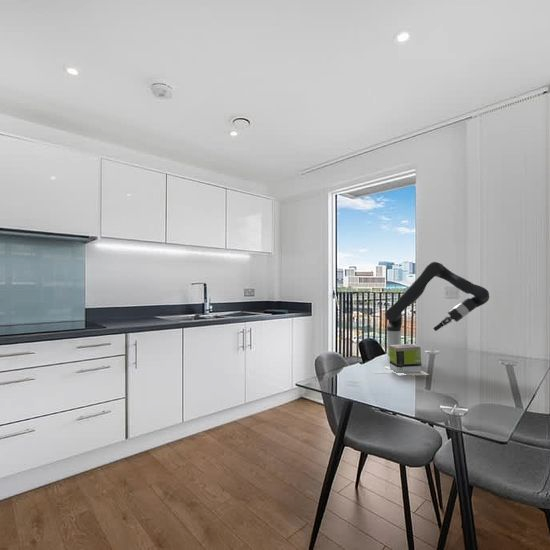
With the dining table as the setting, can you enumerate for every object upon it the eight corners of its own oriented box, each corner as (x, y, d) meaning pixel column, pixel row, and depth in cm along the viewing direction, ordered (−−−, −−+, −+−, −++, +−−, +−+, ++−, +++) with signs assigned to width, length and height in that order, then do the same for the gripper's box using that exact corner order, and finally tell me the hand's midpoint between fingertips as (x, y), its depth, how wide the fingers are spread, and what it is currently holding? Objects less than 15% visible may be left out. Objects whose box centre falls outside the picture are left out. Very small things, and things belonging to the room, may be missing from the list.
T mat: (364, 368, 203) (364, 367, 203) (411, 365, 206) (411, 365, 206) (378, 377, 183) (378, 377, 183) (429, 375, 186) (429, 374, 186)
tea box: (413, 367, 200) (412, 343, 201) (421, 372, 190) (421, 346, 191) (389, 368, 199) (388, 344, 199) (396, 373, 189) (396, 347, 189)
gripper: (452, 308, 206) (429, 325, 209) (455, 306, 194) (430, 324, 197) (461, 318, 203) (438, 335, 206) (464, 316, 191) (439, 334, 194)
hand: (434, 329), depth 202 cm, fingers closed
